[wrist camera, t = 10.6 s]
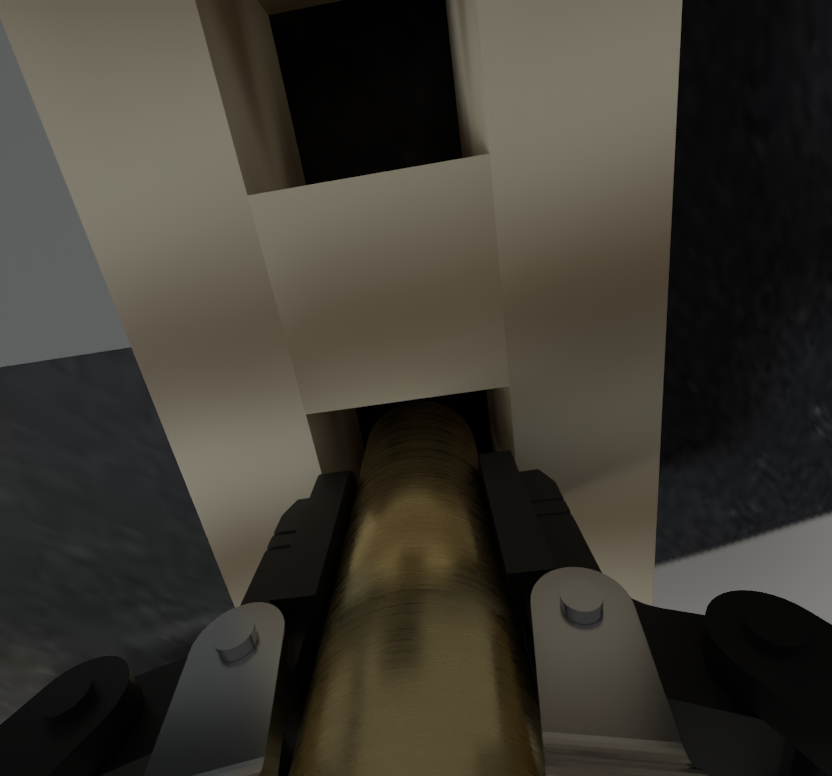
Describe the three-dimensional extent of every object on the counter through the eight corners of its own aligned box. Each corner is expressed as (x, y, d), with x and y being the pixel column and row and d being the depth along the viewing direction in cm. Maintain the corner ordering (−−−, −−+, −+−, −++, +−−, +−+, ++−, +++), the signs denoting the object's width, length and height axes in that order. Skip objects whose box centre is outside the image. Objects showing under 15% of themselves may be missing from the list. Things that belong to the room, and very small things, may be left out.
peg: (357, 408, 12) (110, 1153, 2) (469, 392, 12) (677, 1133, 2) (377, 502, 13) (263, 1271, 3) (480, 489, 13) (653, 1265, 3)
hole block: (112, -73, 11) (-127, -301, 6) (573, -173, 10) (708, -520, 5) (297, 529, 17) (251, 647, 12) (585, 494, 16) (652, 604, 12)
